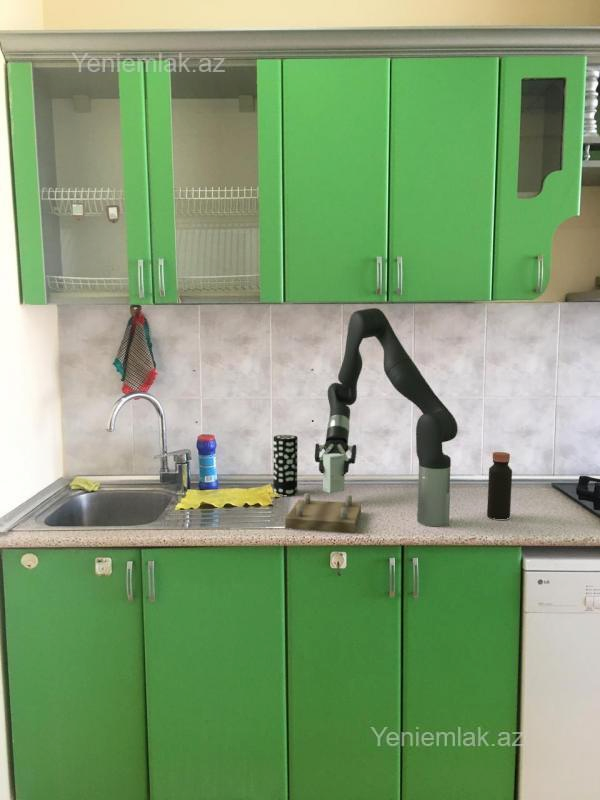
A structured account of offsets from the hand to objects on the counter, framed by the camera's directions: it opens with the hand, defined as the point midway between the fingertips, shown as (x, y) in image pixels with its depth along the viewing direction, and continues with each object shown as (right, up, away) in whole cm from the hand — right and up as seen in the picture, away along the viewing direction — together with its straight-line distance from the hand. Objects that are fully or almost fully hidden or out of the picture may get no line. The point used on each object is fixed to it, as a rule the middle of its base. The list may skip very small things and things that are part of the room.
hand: (333, 472), depth 200 cm
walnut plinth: (-3, -13, -15) cm, 20 cm away
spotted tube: (-16, -9, +15) cm, 24 cm away
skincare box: (0, -6, +2) cm, 7 cm away
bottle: (+50, -13, -11) cm, 53 cm away
